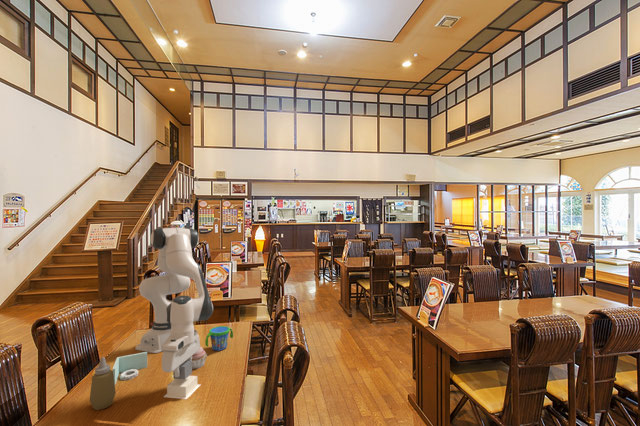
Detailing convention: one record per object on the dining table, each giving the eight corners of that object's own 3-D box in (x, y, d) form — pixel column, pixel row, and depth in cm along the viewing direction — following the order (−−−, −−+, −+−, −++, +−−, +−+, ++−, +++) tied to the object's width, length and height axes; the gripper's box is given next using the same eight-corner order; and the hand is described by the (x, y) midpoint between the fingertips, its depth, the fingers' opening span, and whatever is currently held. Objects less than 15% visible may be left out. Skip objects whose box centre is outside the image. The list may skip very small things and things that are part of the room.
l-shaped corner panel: (112, 386, 127) (112, 369, 127) (117, 373, 137) (117, 357, 137) (145, 379, 132) (145, 362, 132) (147, 367, 143) (147, 351, 143)
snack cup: (228, 341, 171) (228, 323, 171) (237, 346, 163) (237, 328, 163) (201, 349, 160) (201, 330, 160) (209, 356, 152) (209, 336, 152)
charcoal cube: (173, 378, 119) (173, 366, 119) (181, 372, 124) (180, 360, 124) (184, 379, 118) (184, 366, 118) (192, 373, 123) (192, 360, 123)
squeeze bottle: (98, 399, 117) (98, 353, 117) (120, 398, 118) (120, 352, 118) (84, 413, 109) (83, 363, 109) (107, 411, 109) (107, 362, 110)
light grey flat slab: (148, 400, 116) (148, 398, 116) (171, 380, 130) (171, 379, 130) (190, 404, 113) (190, 402, 113) (210, 384, 127) (210, 382, 127)
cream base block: (167, 395, 118) (167, 385, 118) (179, 384, 126) (179, 374, 126) (185, 397, 116) (185, 386, 116) (197, 385, 124) (197, 376, 124)
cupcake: (196, 373, 136) (196, 351, 136) (181, 369, 139) (181, 347, 140) (211, 364, 144) (211, 343, 144) (197, 360, 148) (197, 340, 148)
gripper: (190, 327, 132) (190, 359, 132) (158, 347, 112) (158, 385, 112) (203, 328, 131) (203, 360, 131) (173, 348, 111) (174, 386, 111)
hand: (182, 371), depth 121 cm, fingers closed on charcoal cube, 5 cm apart
